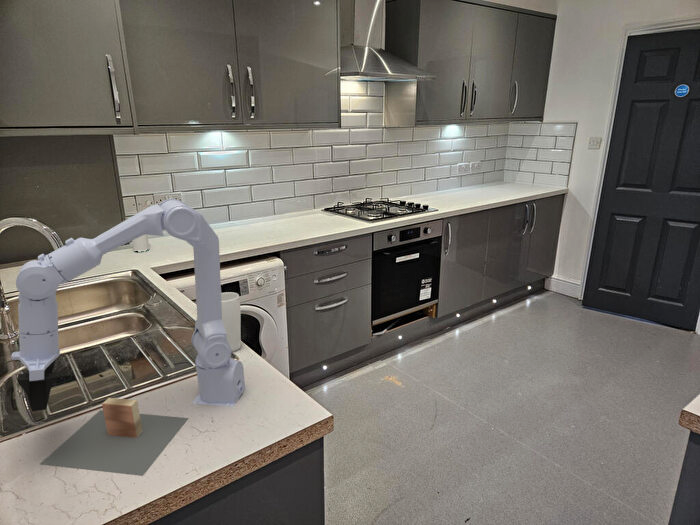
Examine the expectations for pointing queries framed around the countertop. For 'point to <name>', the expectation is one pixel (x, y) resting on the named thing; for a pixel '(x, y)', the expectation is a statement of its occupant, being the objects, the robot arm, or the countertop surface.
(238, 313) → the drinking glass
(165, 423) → the mat
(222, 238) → the countertop surface
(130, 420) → the tile
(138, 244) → the can
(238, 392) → the robot arm
